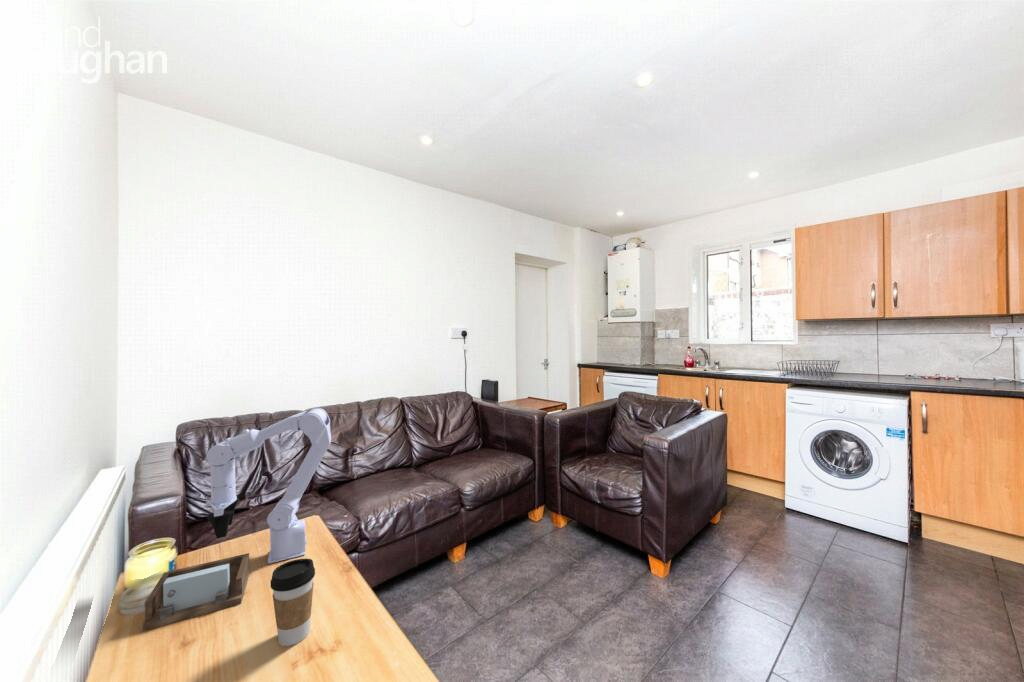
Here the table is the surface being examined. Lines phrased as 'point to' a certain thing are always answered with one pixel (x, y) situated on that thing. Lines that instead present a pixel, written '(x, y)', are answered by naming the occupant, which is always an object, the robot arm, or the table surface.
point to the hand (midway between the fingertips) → (224, 531)
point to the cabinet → (166, 615)
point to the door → (196, 587)
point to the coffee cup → (293, 600)
